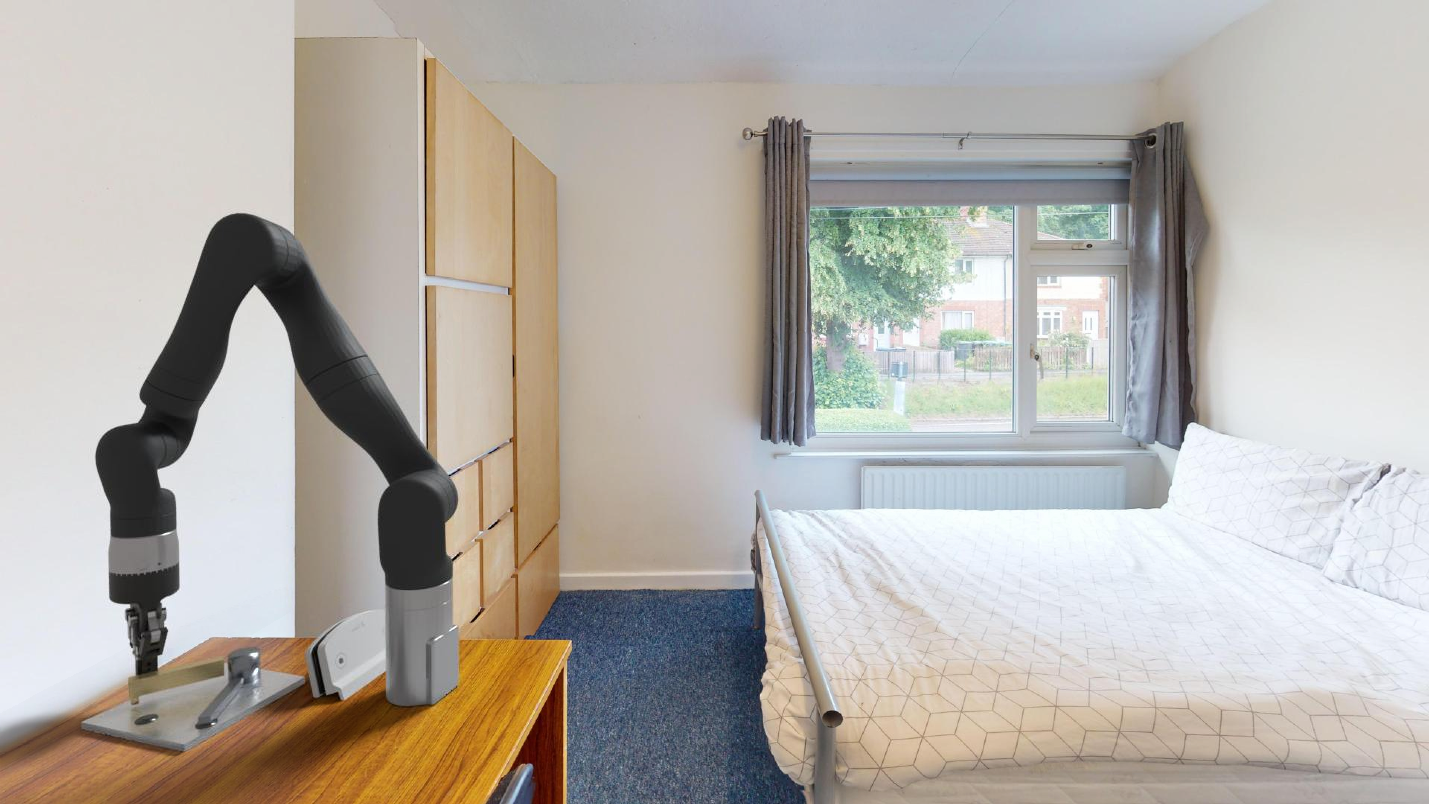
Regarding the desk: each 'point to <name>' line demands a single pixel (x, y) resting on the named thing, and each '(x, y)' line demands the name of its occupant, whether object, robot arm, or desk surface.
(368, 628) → the light grey curved piece
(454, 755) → the desk surface
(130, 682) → the leg
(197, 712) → the mounting plate
